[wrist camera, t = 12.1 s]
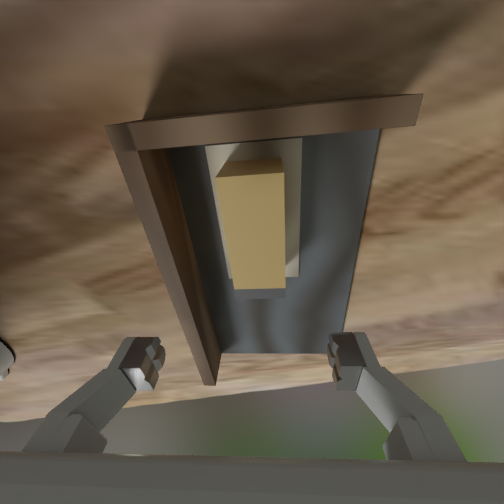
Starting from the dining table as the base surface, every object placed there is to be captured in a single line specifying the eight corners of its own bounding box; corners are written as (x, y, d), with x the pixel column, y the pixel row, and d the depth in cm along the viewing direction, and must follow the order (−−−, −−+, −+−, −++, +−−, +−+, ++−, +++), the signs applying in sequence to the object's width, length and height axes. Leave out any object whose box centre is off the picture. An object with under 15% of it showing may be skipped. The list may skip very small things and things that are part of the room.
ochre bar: (225, 162, 19) (214, 177, 15) (281, 157, 19) (284, 172, 15) (240, 269, 25) (236, 299, 21) (283, 267, 25) (285, 298, 21)
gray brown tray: (212, 350, 34) (204, 385, 30) (142, 119, 18) (104, 125, 14) (336, 350, 33) (346, 387, 29) (384, 94, 16) (423, 93, 12)
